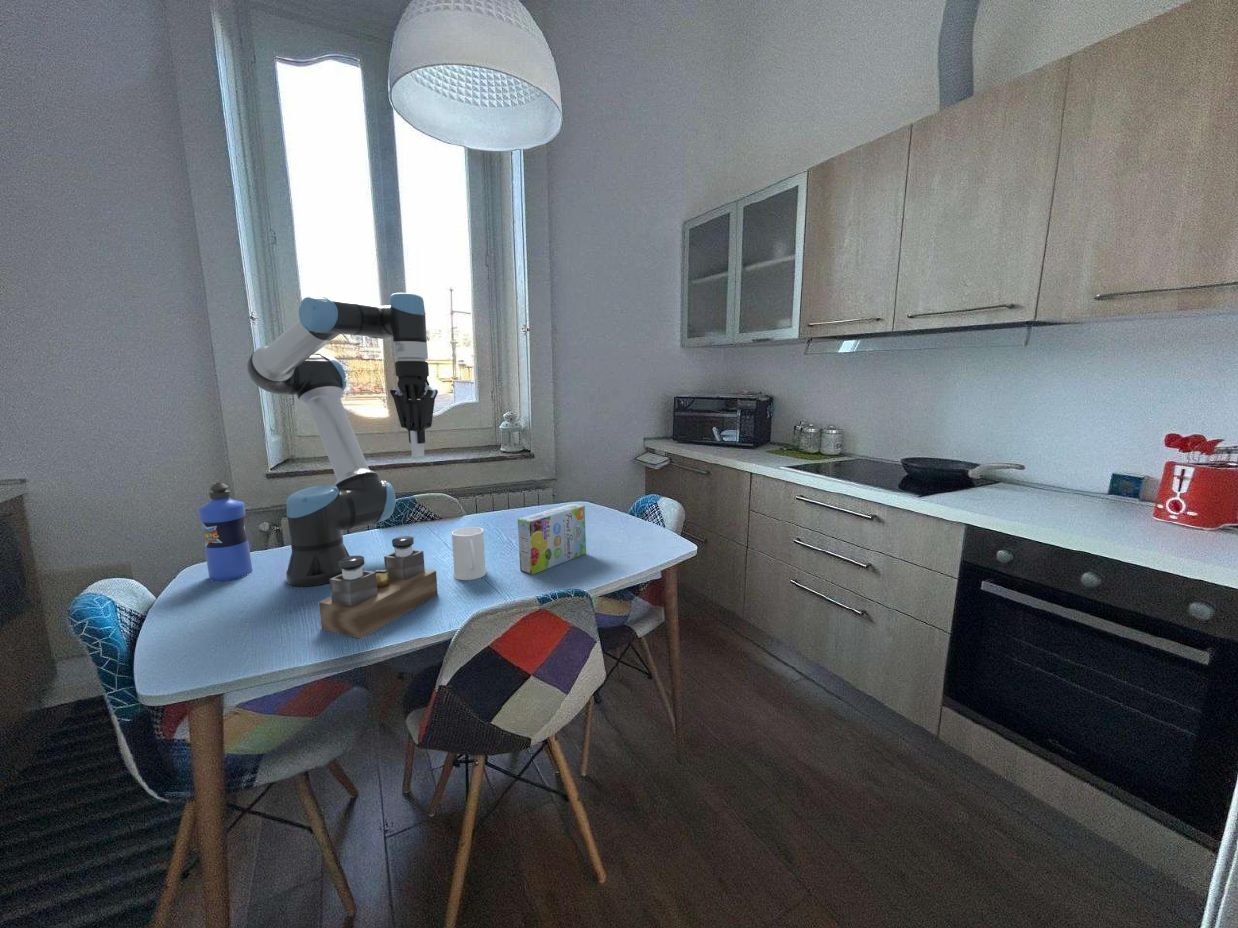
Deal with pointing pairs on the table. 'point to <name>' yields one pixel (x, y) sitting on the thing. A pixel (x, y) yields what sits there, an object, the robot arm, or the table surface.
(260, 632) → the table surface
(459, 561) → the mug
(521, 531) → the snack box
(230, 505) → the water bottle
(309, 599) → the table surface
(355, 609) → the mount
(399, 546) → the knob far
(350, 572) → the knob near
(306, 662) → the table surface
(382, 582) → the screw
